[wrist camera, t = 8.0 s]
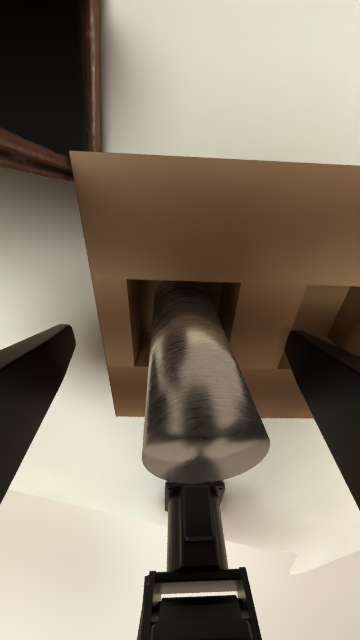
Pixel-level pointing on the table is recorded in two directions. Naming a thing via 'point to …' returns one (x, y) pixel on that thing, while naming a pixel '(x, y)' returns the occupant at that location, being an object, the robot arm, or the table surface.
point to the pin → (196, 394)
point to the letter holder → (48, 84)
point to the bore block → (222, 260)
